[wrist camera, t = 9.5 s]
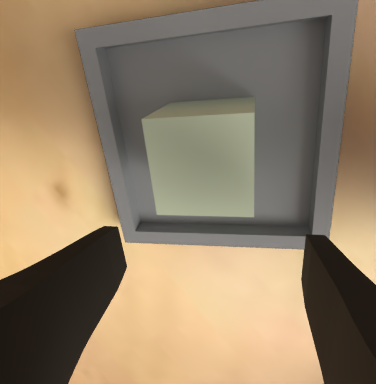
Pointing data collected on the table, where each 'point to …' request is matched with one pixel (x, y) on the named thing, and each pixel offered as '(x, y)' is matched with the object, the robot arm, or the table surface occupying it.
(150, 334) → the table surface
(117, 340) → the table surface
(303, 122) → the tray
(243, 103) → the cube
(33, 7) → the table surface
